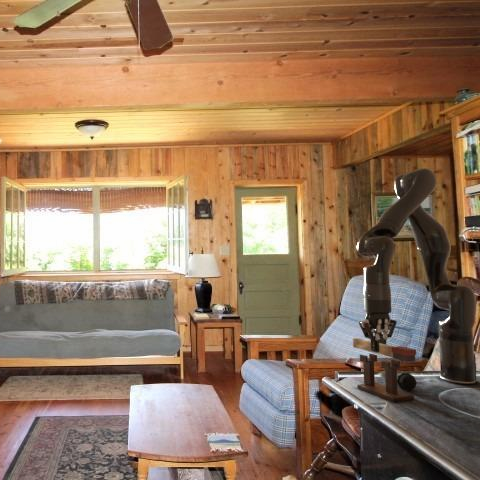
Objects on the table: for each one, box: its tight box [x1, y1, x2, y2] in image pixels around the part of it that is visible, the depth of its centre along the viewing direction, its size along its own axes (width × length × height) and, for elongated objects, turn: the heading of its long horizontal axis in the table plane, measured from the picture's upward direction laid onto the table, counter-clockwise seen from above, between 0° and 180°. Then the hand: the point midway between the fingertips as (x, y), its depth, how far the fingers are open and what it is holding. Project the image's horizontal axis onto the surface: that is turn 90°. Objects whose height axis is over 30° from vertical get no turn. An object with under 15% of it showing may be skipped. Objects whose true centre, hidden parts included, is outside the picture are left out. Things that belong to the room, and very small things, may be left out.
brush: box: [352, 337, 417, 363], centre depth 130 cm, size 20×4×3 cm, turn 16°
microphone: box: [380, 371, 418, 392], centre depth 139 cm, size 6×6×20 cm
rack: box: [356, 353, 415, 403], centre depth 130 cm, size 13×8×11 cm, turn 16°
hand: (378, 351), depth 131 cm, fingers closed on brush, 2 cm apart
